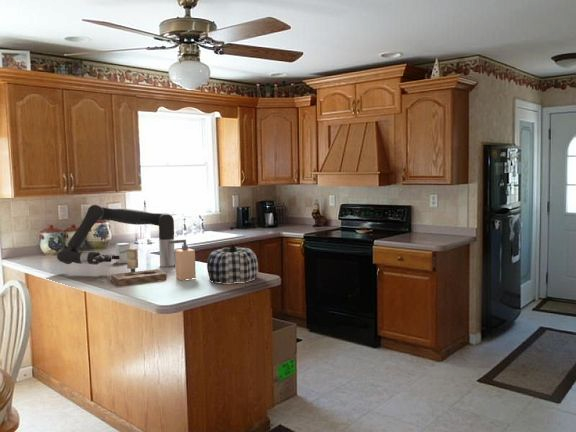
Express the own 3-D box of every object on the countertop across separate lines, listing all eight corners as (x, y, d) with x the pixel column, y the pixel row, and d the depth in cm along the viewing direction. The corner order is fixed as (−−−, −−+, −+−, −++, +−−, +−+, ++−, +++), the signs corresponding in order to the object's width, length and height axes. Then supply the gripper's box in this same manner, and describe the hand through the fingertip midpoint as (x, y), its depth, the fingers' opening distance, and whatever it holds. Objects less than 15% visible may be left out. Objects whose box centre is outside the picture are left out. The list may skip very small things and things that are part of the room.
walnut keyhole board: (157, 275, 300) (157, 269, 300) (166, 279, 287) (166, 273, 287) (111, 280, 287) (110, 274, 286) (118, 285, 273) (118, 279, 273)
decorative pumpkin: (222, 287, 266) (221, 249, 264) (196, 278, 289) (195, 243, 288) (269, 280, 283) (269, 243, 281) (242, 272, 307) (241, 238, 305)
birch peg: (131, 274, 303) (130, 248, 302) (139, 274, 302) (138, 248, 301) (126, 276, 298) (125, 249, 297) (134, 276, 297) (133, 249, 296)
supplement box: (119, 263, 340) (118, 244, 339) (115, 262, 346) (115, 243, 345) (130, 262, 344) (129, 243, 343) (126, 261, 350) (126, 242, 349)
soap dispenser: (190, 276, 295) (189, 238, 293) (195, 279, 288) (194, 239, 286) (168, 279, 289) (167, 239, 287) (173, 281, 282) (172, 241, 280)
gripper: (82, 253, 298) (108, 254, 294) (97, 249, 312) (121, 250, 308) (83, 266, 299) (108, 267, 295) (97, 262, 313) (122, 263, 309)
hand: (115, 258), depth 302 cm, fingers open, 8 cm apart
